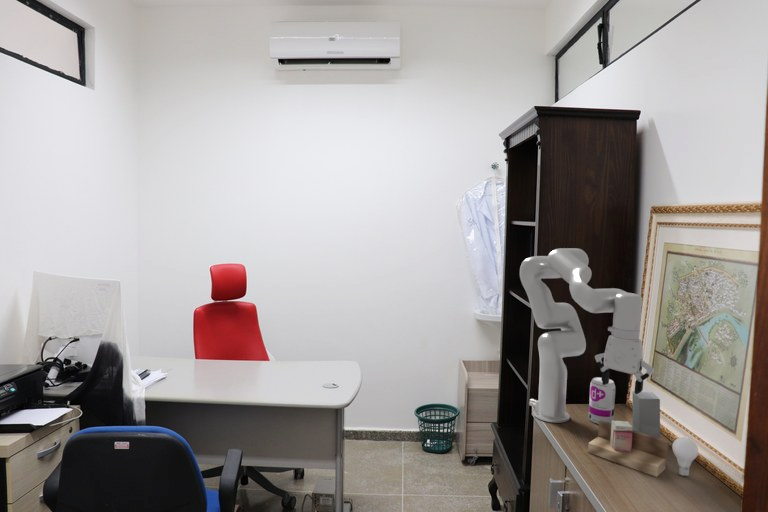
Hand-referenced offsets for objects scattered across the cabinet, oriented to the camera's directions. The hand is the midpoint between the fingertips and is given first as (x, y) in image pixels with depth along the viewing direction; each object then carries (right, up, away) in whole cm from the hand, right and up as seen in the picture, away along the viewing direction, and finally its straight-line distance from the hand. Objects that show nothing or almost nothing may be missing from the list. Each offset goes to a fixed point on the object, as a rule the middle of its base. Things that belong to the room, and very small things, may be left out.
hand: (621, 388), depth 156 cm
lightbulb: (+13, -22, -11) cm, 28 cm away
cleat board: (+1, -21, -1) cm, 21 cm away
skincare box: (+13, -21, +12) cm, 27 cm away
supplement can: (+6, -19, +28) cm, 34 cm away
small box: (-1, -18, -1) cm, 18 cm away
